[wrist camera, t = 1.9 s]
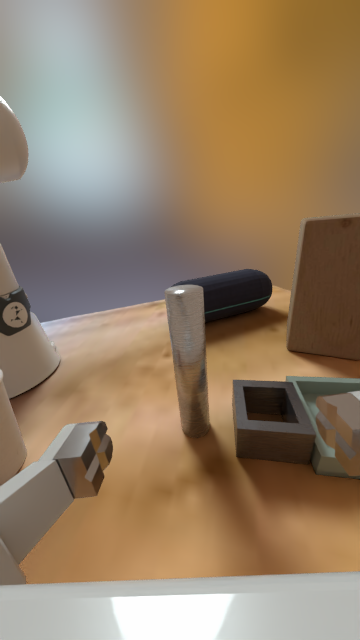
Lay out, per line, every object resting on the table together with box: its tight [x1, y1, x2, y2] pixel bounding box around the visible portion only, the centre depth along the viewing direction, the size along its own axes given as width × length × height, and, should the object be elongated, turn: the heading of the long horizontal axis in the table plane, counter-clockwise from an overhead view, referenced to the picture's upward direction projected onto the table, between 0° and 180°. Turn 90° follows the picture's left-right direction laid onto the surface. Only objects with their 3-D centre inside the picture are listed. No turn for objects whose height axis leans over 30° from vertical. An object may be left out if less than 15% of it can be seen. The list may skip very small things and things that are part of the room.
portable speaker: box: [170, 269, 272, 322], centre depth 49 cm, size 25×10×10 cm, turn 112°
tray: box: [286, 376, 360, 479], centre depth 21 cm, size 10×10×2 cm
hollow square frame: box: [232, 380, 316, 464], centre depth 22 cm, size 6×6×4 cm
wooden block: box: [287, 213, 360, 360], centre depth 33 cm, size 10×10×20 cm
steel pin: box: [165, 285, 210, 438], centre depth 21 cm, size 3×3×16 cm
